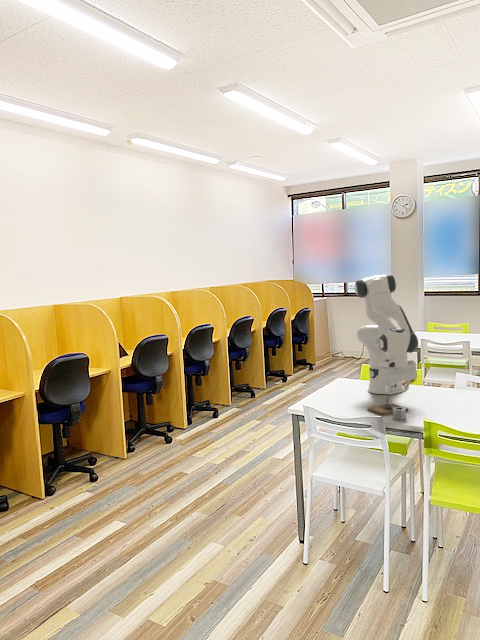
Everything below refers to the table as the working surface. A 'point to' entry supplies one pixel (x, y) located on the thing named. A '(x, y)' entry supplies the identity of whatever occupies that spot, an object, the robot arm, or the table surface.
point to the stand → (384, 408)
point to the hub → (399, 413)
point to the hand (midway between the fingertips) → (398, 390)
